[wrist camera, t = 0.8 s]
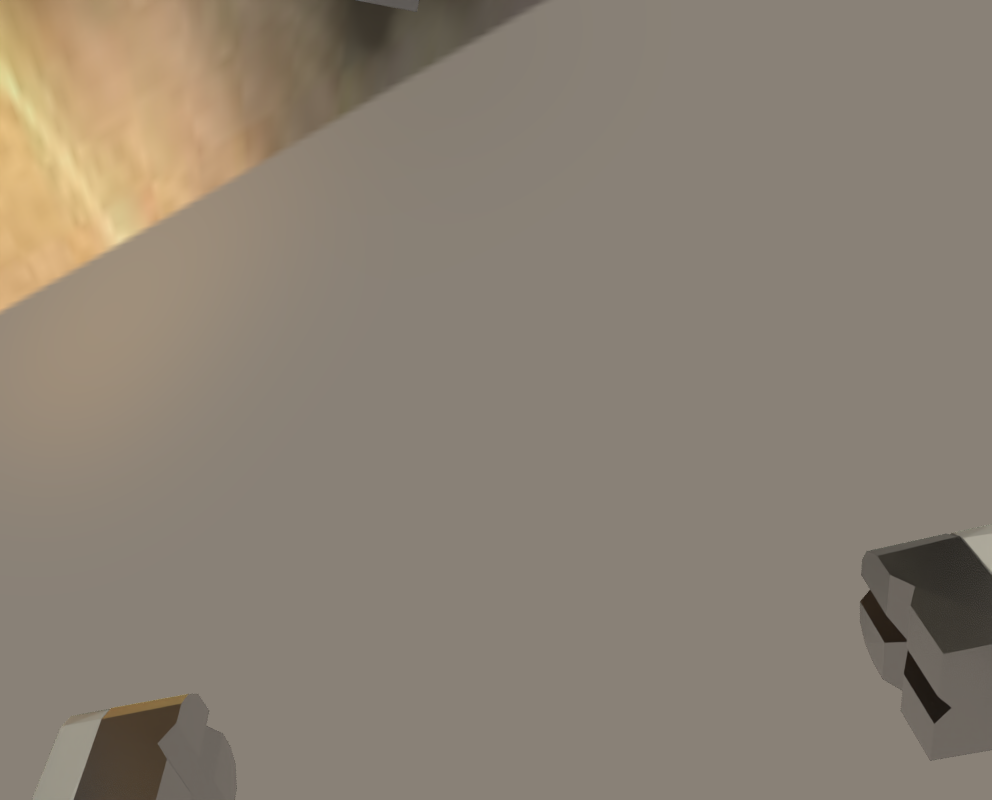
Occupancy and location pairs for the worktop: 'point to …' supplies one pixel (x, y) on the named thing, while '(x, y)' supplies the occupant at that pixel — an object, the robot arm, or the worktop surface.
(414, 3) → the collar
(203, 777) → the robot arm
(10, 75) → the worktop surface
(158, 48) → the worktop surface
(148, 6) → the worktop surface
